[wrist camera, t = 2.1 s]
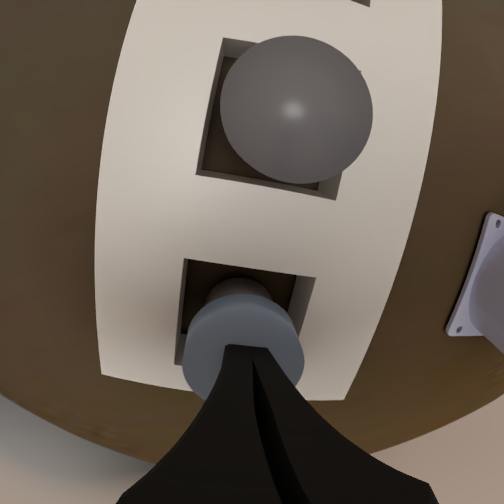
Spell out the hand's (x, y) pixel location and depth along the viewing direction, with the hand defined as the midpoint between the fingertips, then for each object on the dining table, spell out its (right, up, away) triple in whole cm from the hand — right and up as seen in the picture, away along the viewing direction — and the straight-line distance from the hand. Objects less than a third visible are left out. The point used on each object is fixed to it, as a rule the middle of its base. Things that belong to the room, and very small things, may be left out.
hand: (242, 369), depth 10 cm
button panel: (+1, +9, +2) cm, 10 cm away
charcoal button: (+1, +9, +1) cm, 9 cm away
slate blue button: (0, +1, +4) cm, 4 cm away
